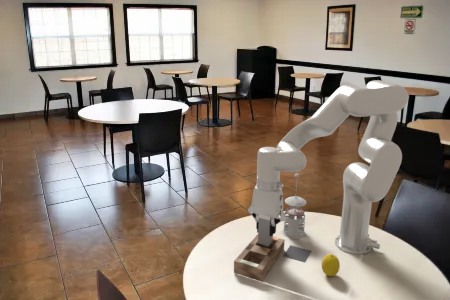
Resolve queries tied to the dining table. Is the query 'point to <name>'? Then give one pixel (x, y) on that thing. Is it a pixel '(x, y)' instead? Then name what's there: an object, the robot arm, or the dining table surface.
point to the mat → (297, 253)
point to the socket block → (258, 258)
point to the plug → (264, 230)
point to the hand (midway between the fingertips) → (265, 232)
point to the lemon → (330, 265)
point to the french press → (294, 225)
